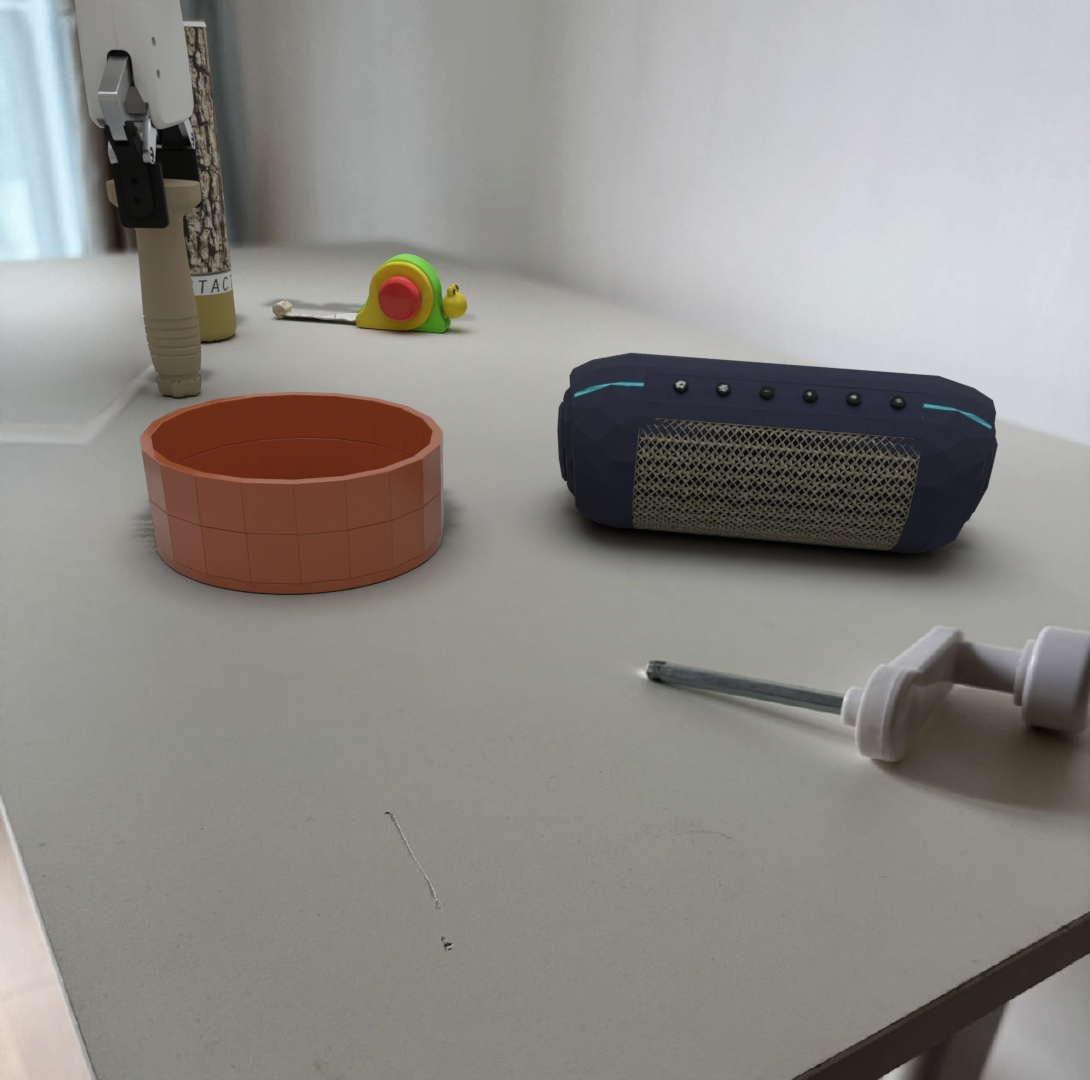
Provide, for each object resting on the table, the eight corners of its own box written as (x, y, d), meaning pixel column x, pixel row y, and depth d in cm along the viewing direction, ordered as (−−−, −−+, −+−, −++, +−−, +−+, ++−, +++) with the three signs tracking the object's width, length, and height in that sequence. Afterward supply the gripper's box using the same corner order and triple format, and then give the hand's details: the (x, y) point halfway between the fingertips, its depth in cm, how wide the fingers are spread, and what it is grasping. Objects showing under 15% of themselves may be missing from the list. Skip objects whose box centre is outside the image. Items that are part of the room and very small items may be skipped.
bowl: (119, 590, 58) (99, 477, 55) (195, 482, 72) (183, 387, 69) (433, 598, 59) (432, 487, 55) (449, 489, 72) (449, 396, 69)
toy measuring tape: (458, 339, 107) (458, 266, 104) (264, 323, 110) (258, 250, 106) (474, 325, 112) (474, 255, 109) (288, 310, 115) (283, 240, 111)
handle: (218, 401, 87) (194, 187, 79) (132, 401, 86) (99, 185, 78) (226, 384, 91) (204, 179, 83) (144, 384, 90) (113, 177, 82)
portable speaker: (541, 547, 65) (548, 371, 60) (562, 488, 73) (570, 330, 68) (987, 587, 63) (1035, 408, 57) (956, 522, 71) (995, 360, 66)
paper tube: (149, 332, 105) (104, 14, 91) (216, 324, 109) (182, 18, 95) (183, 347, 100) (140, 16, 87) (251, 338, 104) (220, 20, 91)
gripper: (105, -65, 80) (145, 199, 89) (12, -83, 65) (73, 235, 74) (211, -62, 80) (241, 201, 89) (143, -79, 66) (187, 237, 75)
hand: (164, 216), depth 82 cm, fingers open, 9 cm apart
